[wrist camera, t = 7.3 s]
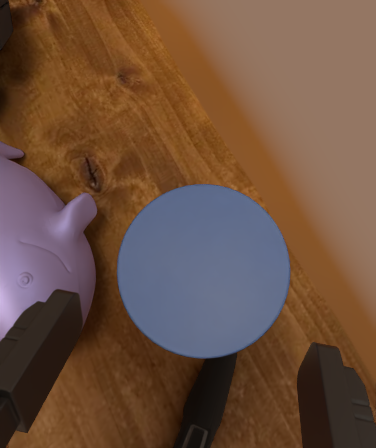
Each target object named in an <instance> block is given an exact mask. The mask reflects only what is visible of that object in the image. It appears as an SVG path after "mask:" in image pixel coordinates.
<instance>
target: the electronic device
mask: <svg viewBox="0 0 376 448" xmlns="http://www.w3.org/2000/svg"><path fill="white" fill-rule="evenodd" d="M12 32H13V26H12V20H11V13H10V7H9V1H8V0H0V50H1V49H2V48H3V46H4V45H5V43H6V41H7V40H8V38H9V37H10V35H11V34H12Z"/></svg>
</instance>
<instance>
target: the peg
mask: <svg viewBox="0 0 376 448" xmlns="http://www.w3.org/2000/svg"><path fill="white" fill-rule="evenodd" d="M117 279H118V287H119V291H120V296H121V298H122V301H123V304H124V307H125V309H126V310H127V312H128V314H129V316H130V318H131V319H132V321H133V322H134V323H135V325H136V326H137V327H138V328H139V330H140V331H141V332H142V333H143V334H144V335H145V336H146V337H148V338H149V339H150V340H151V341H152V342H154V343H155V344H157V345H159V346H160V347H162V348H163V349H166V350H168V351H170V352H172V353H175V354H178V355H182V356H185V357H191V358H217V357H223V356H226V355H230V354H233V353H236V352H238V351H240V350H242V349H244V348H246V347H248V346H249V345H251V344H253V343H254V342H255V341H257V340H258V339H259V338H260V337H261V336H263V335H264V334H265V333H266V331H267V330H268V329H269V328H270V327H271V326H272V324H273V323H274V322H275V320H276V319H277V317H278V316H279V314H280V312H281V310H282V308H283V305H284V303H285V300H286V297H287V293H288V288H289V283H290V260H289V255H288V250H287V247H286V244H285V241H284V238H283V236H282V234H281V232H280V230H279V228H278V226H277V225H276V223H275V222H274V220H273V219H272V218H271V217H270V215H269V214H268V213H267V212H266V211H265V210H264V209H263V208H262V207H261V206H260V205H259V204H258V203H256V202H255V201H253V200H252V199H251V198H249V197H248V196H246V195H244V194H242V193H240V192H238V191H235V190H233V189H230V188H227V187H222V186H218V185H209V184H196V185H189V186H184V187H180V188H177V189H174V190H171V191H169V192H167V193H164V194H163V195H161V196H159V197H157V198H156V199H154V200H153V201H152V202H150V203H149V204H148V205H147V206H146V207H145V208H144V209H143V210H141V211H140V212H139V214H138V215H137V216H136V217H135V219H134V220H133V221H132V223H131V225H130V226H129V228H128V229H127V231H126V234H125V236H124V238H123V240H122V244H121V247H120V250H119V256H118V261H117Z"/></svg>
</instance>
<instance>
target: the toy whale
mask: <svg viewBox="0 0 376 448" xmlns="http://www.w3.org/2000/svg"><path fill="white" fill-rule="evenodd" d="M23 156H24V153H23V151H21V150H19V149H17V148H14V147H11V146H8V145H6V144H4V143H2V142H1V141H0V341H1V340H2V338H4V337H5V335H6V333H7V332H8V331H9V329H10V328H11V327H13V324H14V323H15V322H16V320H17V319H18V318H19V316H20V315H21V314H22V312H23V311H24V310H26V309H27V308H29V307H30V306H31V305H33V304H34V303H36V302H37V301H41V302H46V301H47V299H48V298H49V296H50V295H51V294H52V292H53V291H54V290H56V289H61V290H66V291H71V292H76V293H78V294H79V296H80V302H81V310H82V317H83V326H84V323H85V321H86V318H87V315H88V313H89V310H90V307H91V304H92V300H93V295H94V291H95V283H96V270H95V263H94V258H93V254H92V251H91V248H90V245H89V243H88V241H87V239H86V237H85V235H84V233H83V231H84V230H85V229H86V227H87V225H88V224H89V223H90V222H91V221H92V220H93V219H94V217H95V216H96V214H97V208H96V204H95V201H94V199H93V198H92V196H91V195H90V194H88V193H82V194H80V195H79V196H78V197H76V198H74V199H73V200H72V201H70V202H69V203H68V204H67V205H66V206H65V204H64V203H63V202H62V201H61V199H60V198H59V197H58V196H57V195H56V194H55V193H54V192H53V191H52V190H51V189H50V188H49V187H48V186H47V185H46V184H45V183H44V182H43V181H42V180H41V179H40V178H39V177H38V176H37V175H36V174H34V173H33V172H32V171H30V170H29V169H27V168H25V167H23V166H21V165H19V164H17V163H15V162H13V161H11V160H8V159H15V158H21V157H23ZM82 329H83V327H82Z"/></svg>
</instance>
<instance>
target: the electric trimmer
mask: <svg viewBox="0 0 376 448" xmlns="http://www.w3.org/2000/svg"><path fill="white" fill-rule="evenodd" d="M236 358H237V352H236V353H233V354H230V355H226V356H223V357H217V358H206V360H205V362H204V364H203V366H202V368H201V370H200V373H199V375H198V377H197V379H196V381H195V383H194V385H193V387H192V390H191V392H190V394H189V396H188V399H187V401H186V403H185V406H184V412H183V419H182V423H181V427H180V431H179V433H178V436H177V439H176V442H175V444H174V447H173V448H210V446H211V444H212V441H213V438H214V436H215V433H216V431H217V429H218V427H219V426H220V423H221V420H222V416H223V413H224V409H225V405H226V401H227V397H228V393H229V389H230V385H231V381H232V377H233V373H234V369H235V364H236Z"/></svg>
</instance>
